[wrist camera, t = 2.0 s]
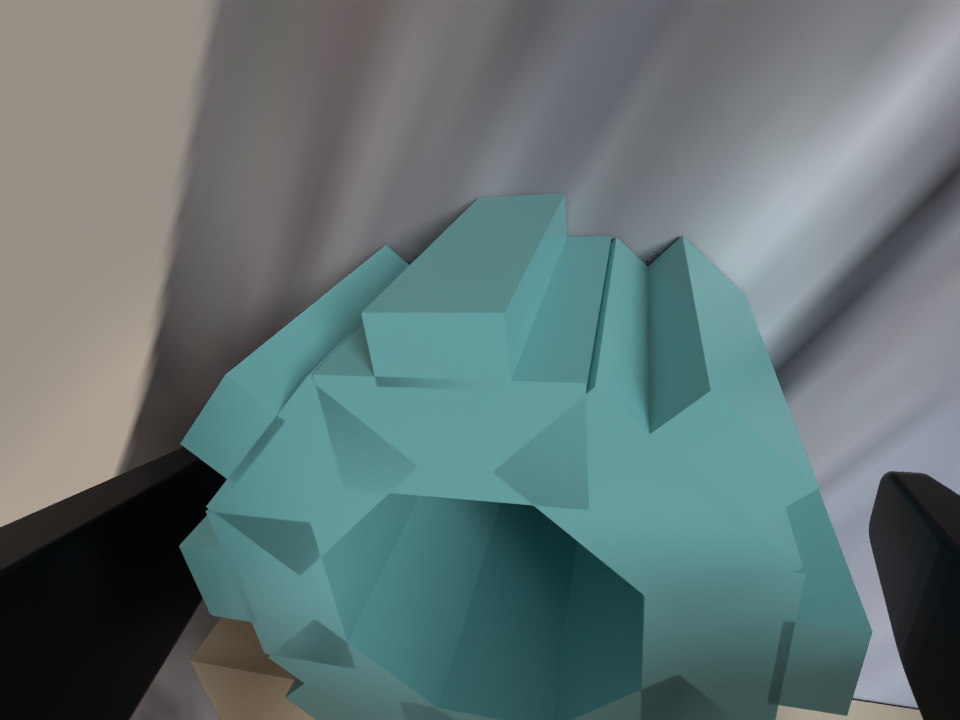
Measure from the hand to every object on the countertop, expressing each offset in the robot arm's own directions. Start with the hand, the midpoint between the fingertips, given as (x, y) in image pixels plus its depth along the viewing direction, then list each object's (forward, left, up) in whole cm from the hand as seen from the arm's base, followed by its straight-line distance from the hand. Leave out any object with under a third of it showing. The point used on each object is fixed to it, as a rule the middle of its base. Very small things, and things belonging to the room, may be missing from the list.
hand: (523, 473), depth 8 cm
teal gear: (0, 0, -2) cm, 2 cm away
